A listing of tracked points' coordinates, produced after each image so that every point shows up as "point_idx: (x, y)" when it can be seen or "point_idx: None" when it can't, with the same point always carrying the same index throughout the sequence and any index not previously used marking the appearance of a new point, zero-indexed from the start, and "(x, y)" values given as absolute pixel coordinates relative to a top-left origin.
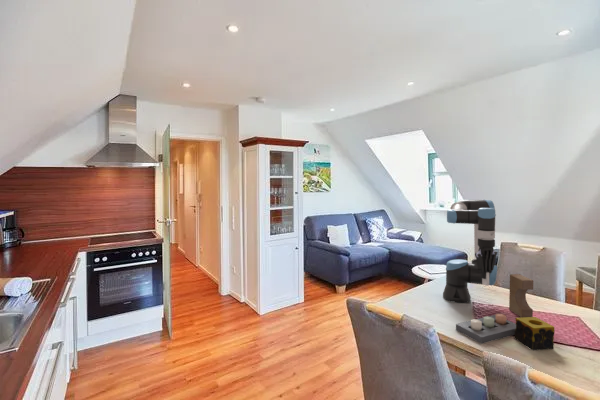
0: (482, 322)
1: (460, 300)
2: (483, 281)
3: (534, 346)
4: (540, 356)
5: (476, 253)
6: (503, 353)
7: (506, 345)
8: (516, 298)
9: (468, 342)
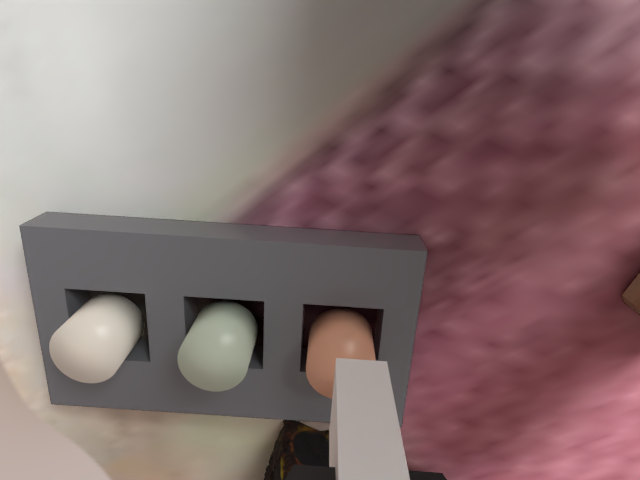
0: (220, 292)
1: None
2: (335, 415)
3: None
4: None
5: None
6: (106, 465)
7: (184, 434)
8: None
9: (14, 342)
